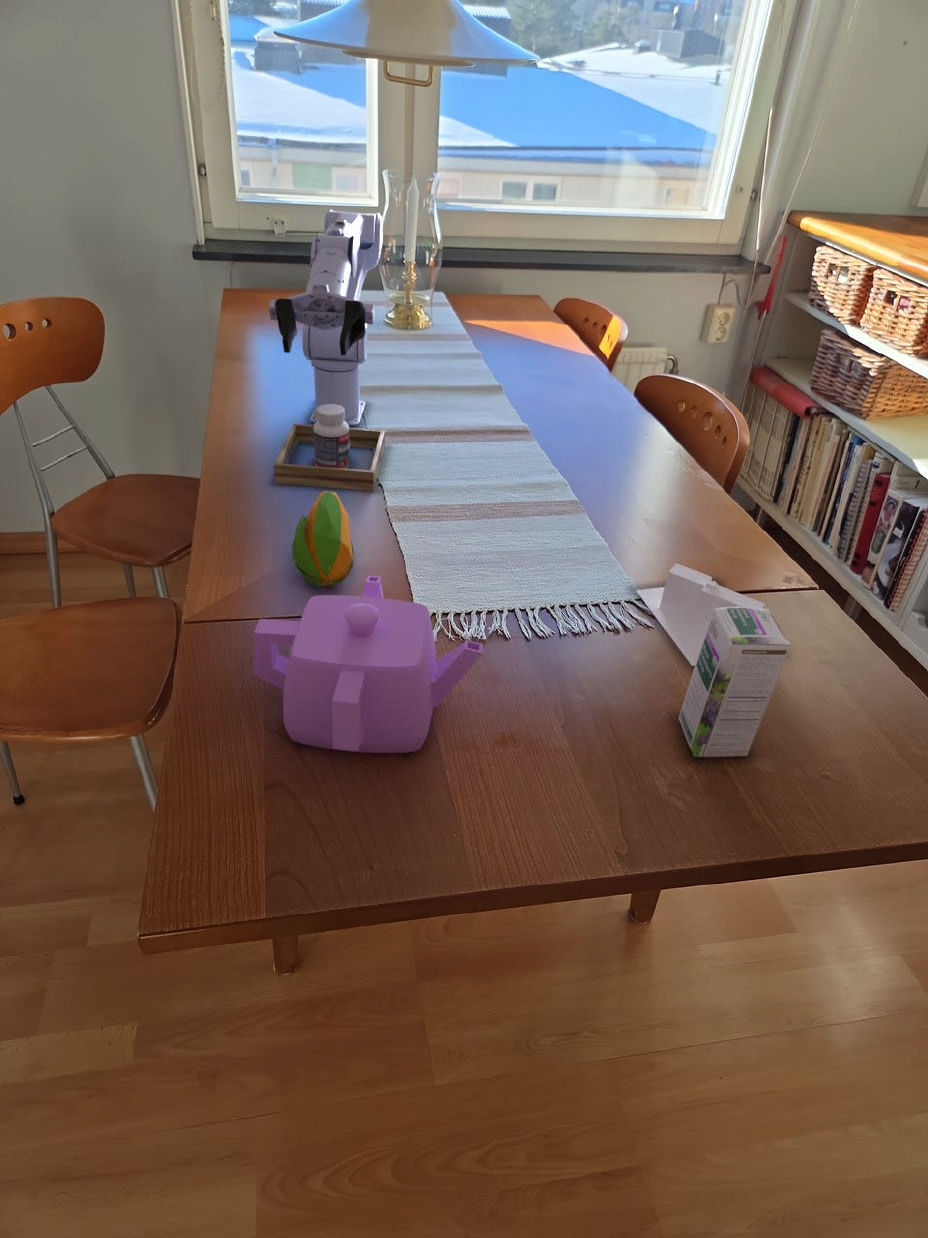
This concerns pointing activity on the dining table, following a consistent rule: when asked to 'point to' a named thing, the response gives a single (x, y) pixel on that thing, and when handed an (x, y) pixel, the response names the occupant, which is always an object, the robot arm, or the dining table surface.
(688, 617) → the napkin holder
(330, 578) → the corn
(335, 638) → the teakettle
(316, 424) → the pill bottle
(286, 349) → the robot arm
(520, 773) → the dining table surface
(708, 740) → the syrup box
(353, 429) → the picture frame
